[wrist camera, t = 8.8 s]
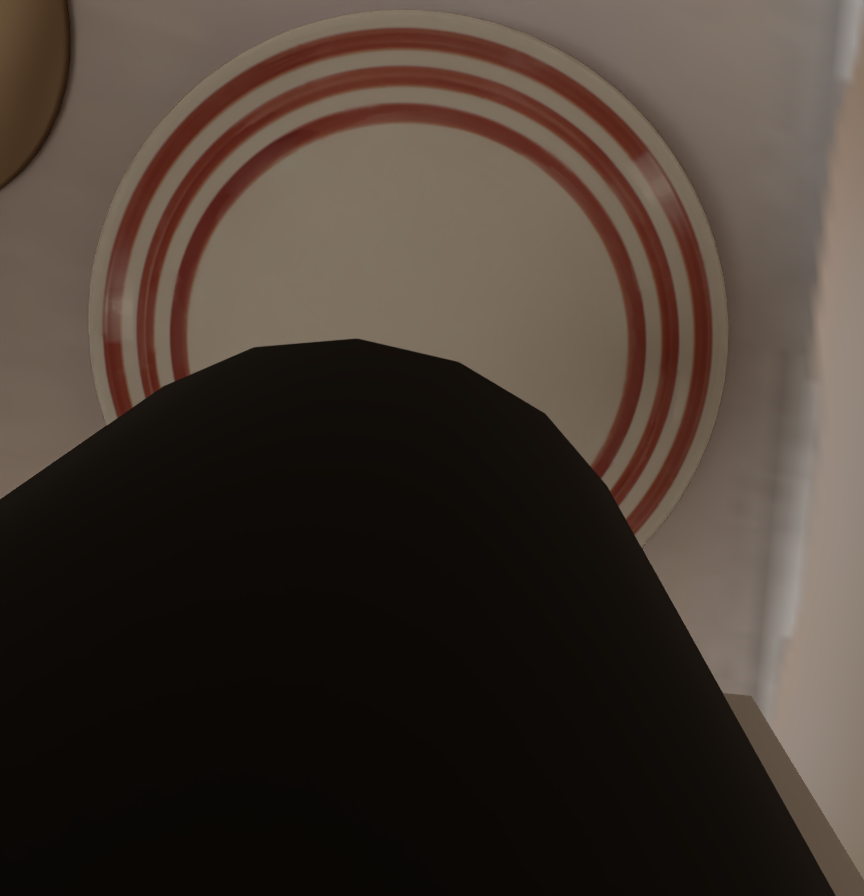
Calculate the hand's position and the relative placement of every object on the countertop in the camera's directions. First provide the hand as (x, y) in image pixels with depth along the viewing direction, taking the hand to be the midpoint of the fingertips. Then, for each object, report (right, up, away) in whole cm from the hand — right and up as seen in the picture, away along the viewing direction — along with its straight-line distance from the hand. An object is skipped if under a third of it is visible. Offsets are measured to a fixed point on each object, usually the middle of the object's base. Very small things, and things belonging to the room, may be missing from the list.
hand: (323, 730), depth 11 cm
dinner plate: (0, +9, +25) cm, 26 cm away
